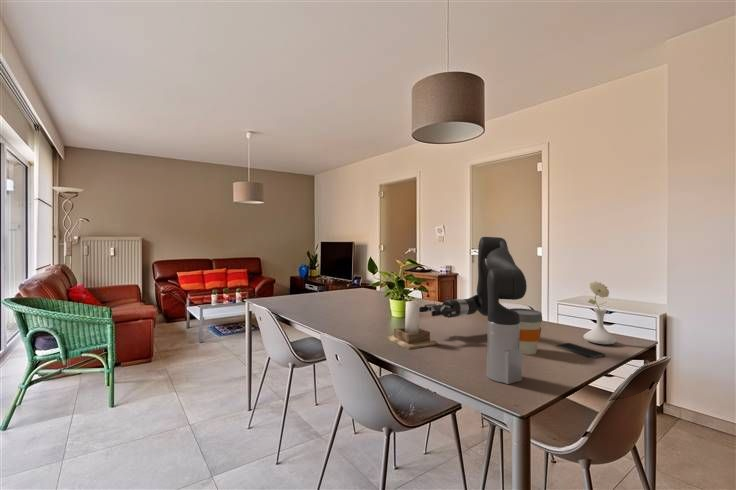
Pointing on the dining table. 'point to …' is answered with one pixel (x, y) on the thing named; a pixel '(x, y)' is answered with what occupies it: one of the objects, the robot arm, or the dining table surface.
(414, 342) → the open wooden box
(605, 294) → the flower in vase
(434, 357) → the dining table surface
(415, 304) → the paper towel roll
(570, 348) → the phone
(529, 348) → the reusable coffee cup
